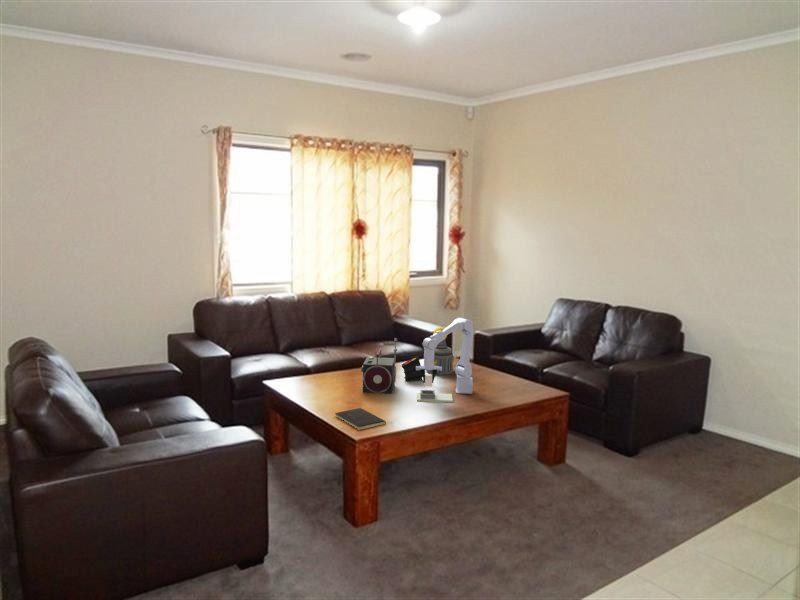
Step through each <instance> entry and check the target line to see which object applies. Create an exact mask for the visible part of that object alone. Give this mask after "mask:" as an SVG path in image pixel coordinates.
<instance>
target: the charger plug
mask: <svg viewBox="0 0 800 600" xmlns="http://www.w3.org/2000/svg"><path fill="white" fill-rule="evenodd" d="M423 384H424V387H425V388H427V387H429V388H430V387H431V388H432V387H433V383H432V374H430V373H428V374H427V373H425V383H423Z"/></svg>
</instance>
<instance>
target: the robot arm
mask: <svg viewBox="0 0 800 600" xmlns="http://www.w3.org/2000/svg"><path fill="white" fill-rule="evenodd" d="M444 328H445V329H444V330H443V331H436V333H435V334H434V333H433V334H432V335H430V336H429V337H426V338H424V339H423V342H422V343H421V345H422V347H423V352H424V353H423V365H421V366H416V370H420V371H421V374H422V376H423V377H422V381H423V384H425V374H426V370H432V384H434V380H435V377H436V376H437V375H436V374H437V370H440V371H442V367H439V366H434V349H435V348H436V346H437V344H438V343H440V342H441V341H443V340H444V339H445V337H446V335H447V336H448V335H449V334H451V333H452V332H454V331H457V330H460V331H461V332H462V333H463V339H462V345H461V352H460V358H459V360H458V361H457V362H456V365H455V366H454V373H455V376H456V388H455V393H456V394H467V395H468V394H471V395H472V394H473V388H474V387H473V386H474V385H473V383H474V382H473V381H474V378H473V377H472V374H473V369H472V367H473V366H472V364H471V361H470V360H471V354H472V347H473V346H472V345H473V339H474V334H475V333H474V323H473V321H472V319H468V318H467V319H466V318H463V317H461V316H460V317H456V318H455V319H454V320H453V321H452V322H451V323H450V324H449V325H448V326H446V327H444ZM446 338H447V337H446ZM445 340H446V339H445Z"/></svg>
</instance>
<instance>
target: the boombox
mask: <svg viewBox="0 0 800 600" xmlns="http://www.w3.org/2000/svg"><path fill="white" fill-rule="evenodd" d="M393 341H394V348H393V352H394V355H393V357H382V347H380V348H379V349H378V351H377V353H376V357H375V356H372V355H370V356H366V359H365V360H364V362H363V363H362V366H361V371H360V372H362V393H367V394H382V393H384V394H383V395H385V394H386V395H393V392H394V388H395V383H396V382H397V365H396V358H397V357H396V356H397V355H396V354H397V351H398V349H397V342H398V338H397V337H395V338H394V339H393Z"/></svg>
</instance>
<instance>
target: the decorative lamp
mask: <svg viewBox="0 0 800 600" xmlns="http://www.w3.org/2000/svg"><path fill="white" fill-rule="evenodd" d="M445 328H446V327H442V326H438V327H436V328H435V329H434V331H433V335H434V334H435V333H436V331H443V330H444V329H445ZM447 337H448V335H446V337H445V339H444V340H443V341H441V342H440V343H438V344H437V346H436V348H435V349H434V366H439V367H442V371H440V370H437V374H436V376H445V375H449V374H450V375H451V374H452V373H453V372H454V368H455V357H454V353H453V349H452V348H451V347H449V346H447V342H446V339H447ZM425 372H426V373H428V374H432V370H425Z"/></svg>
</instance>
